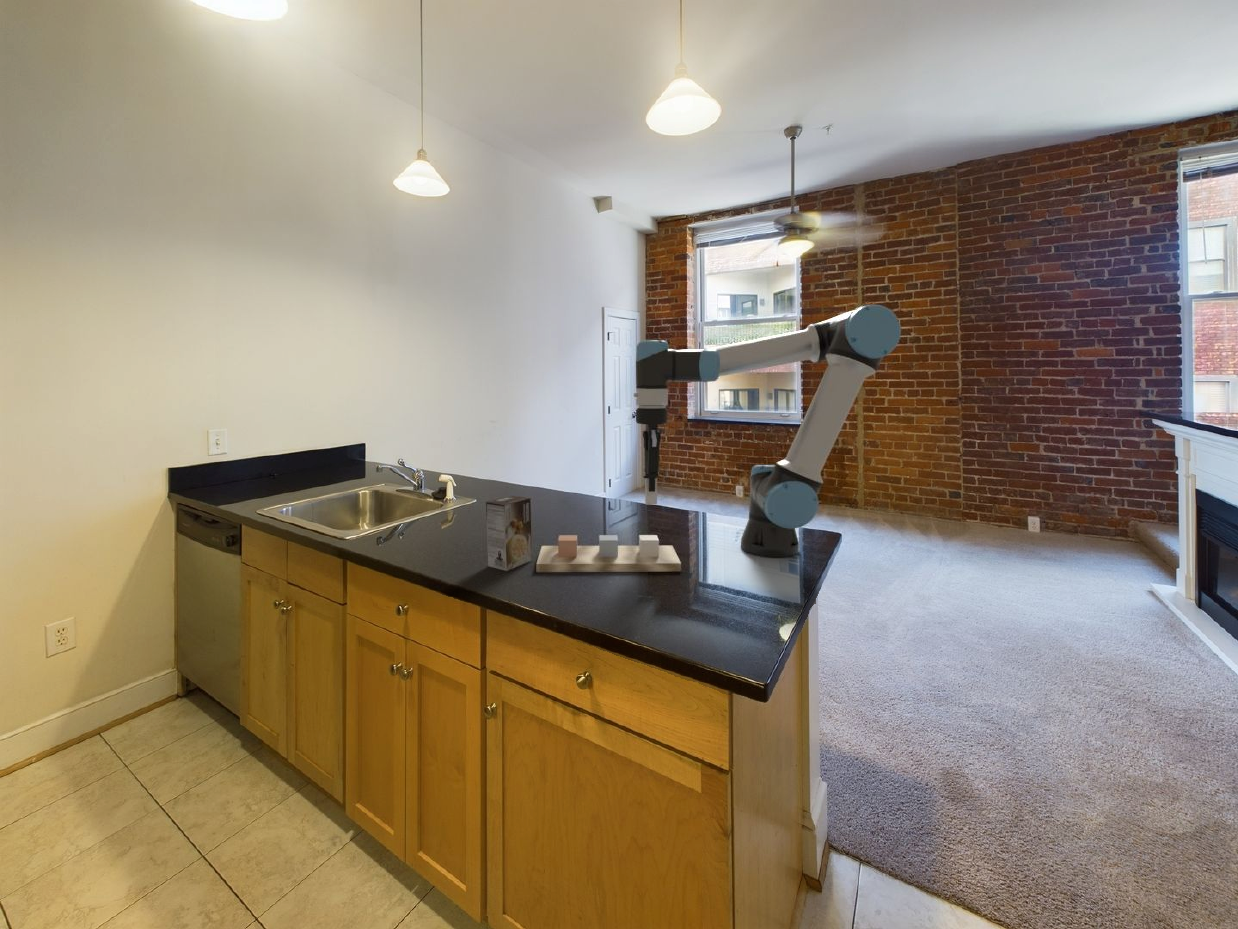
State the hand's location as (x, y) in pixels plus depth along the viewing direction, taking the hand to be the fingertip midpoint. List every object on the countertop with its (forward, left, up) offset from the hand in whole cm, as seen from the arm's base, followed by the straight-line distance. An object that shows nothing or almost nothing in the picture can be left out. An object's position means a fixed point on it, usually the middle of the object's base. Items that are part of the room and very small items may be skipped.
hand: (651, 503), depth 131 cm
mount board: (+10, 0, -15) cm, 18 cm away
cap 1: (+20, 0, -13) cm, 24 cm away
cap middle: (+10, 0, -13) cm, 16 cm away
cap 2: (0, 0, -13) cm, 13 cm away
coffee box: (+34, +1, -15) cm, 38 cm away
